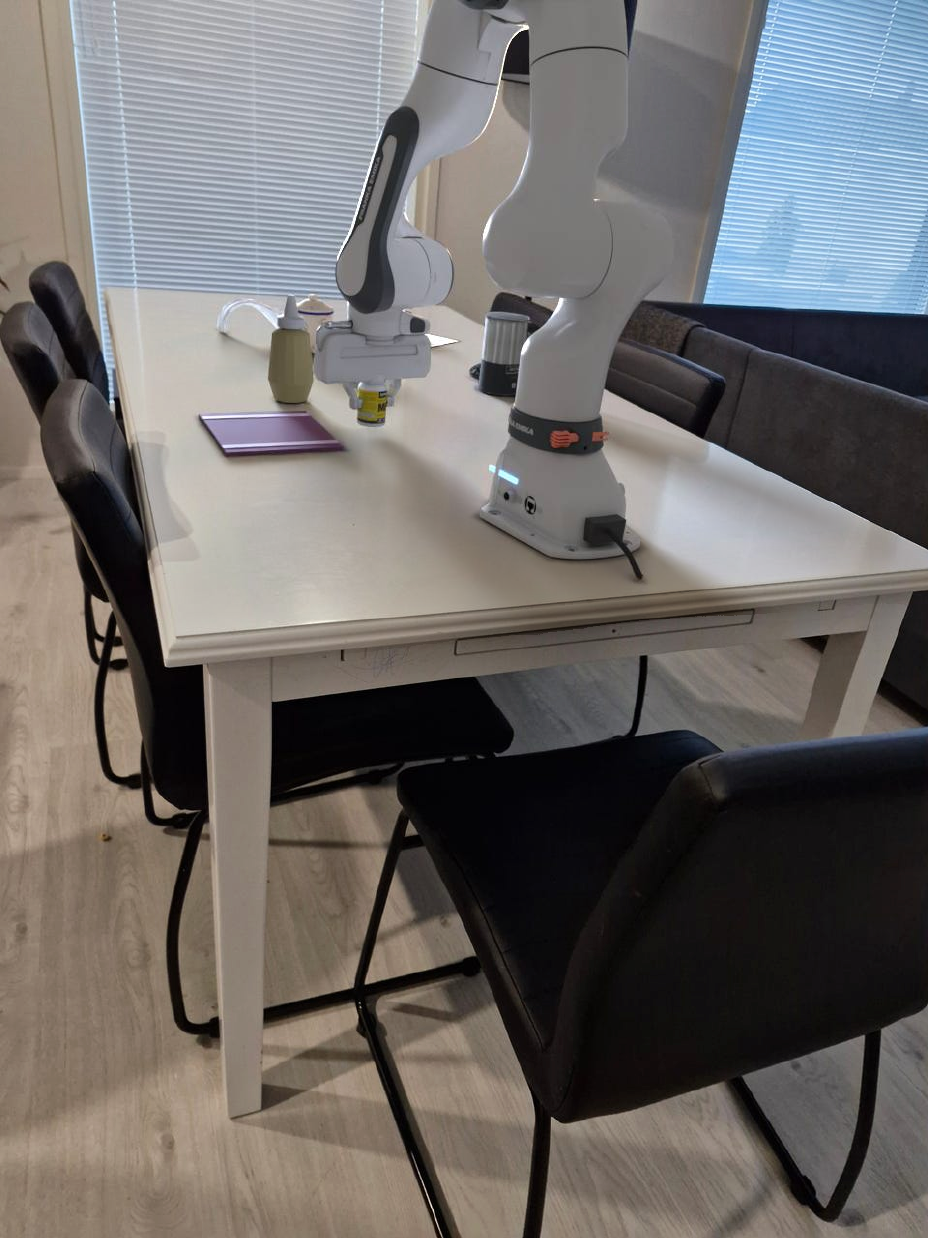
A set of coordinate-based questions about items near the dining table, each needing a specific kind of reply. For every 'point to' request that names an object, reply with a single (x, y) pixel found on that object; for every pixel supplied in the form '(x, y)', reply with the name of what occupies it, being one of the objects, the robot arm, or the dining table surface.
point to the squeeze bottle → (290, 357)
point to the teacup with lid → (314, 316)
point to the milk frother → (502, 352)
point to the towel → (268, 433)
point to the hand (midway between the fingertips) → (371, 407)
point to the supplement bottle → (372, 402)
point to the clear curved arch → (264, 309)
